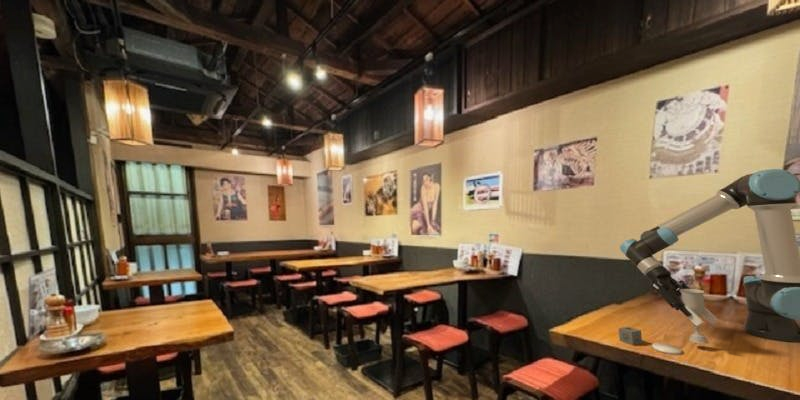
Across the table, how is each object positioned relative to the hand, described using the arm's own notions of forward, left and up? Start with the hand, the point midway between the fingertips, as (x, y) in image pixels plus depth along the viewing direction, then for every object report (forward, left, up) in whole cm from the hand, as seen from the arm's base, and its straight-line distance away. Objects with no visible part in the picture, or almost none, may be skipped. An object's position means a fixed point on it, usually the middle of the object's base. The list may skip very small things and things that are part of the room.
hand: (707, 323), depth 105 cm
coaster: (+13, +3, -10) cm, 17 cm away
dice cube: (+23, -2, -10) cm, 25 cm away
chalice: (+2, -3, -8) cm, 8 cm away
